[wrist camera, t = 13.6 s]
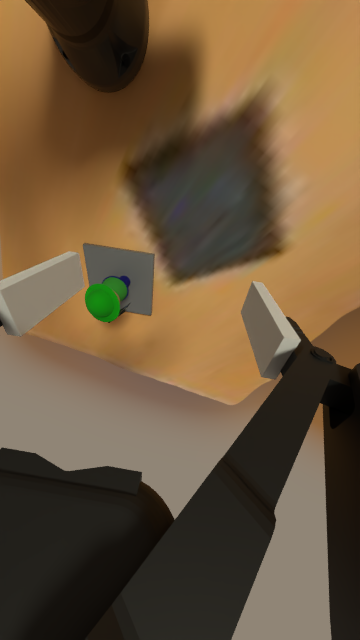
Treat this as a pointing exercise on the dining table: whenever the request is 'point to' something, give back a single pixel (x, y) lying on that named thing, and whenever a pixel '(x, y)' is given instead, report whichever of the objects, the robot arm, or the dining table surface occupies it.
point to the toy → (107, 298)
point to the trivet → (123, 273)
